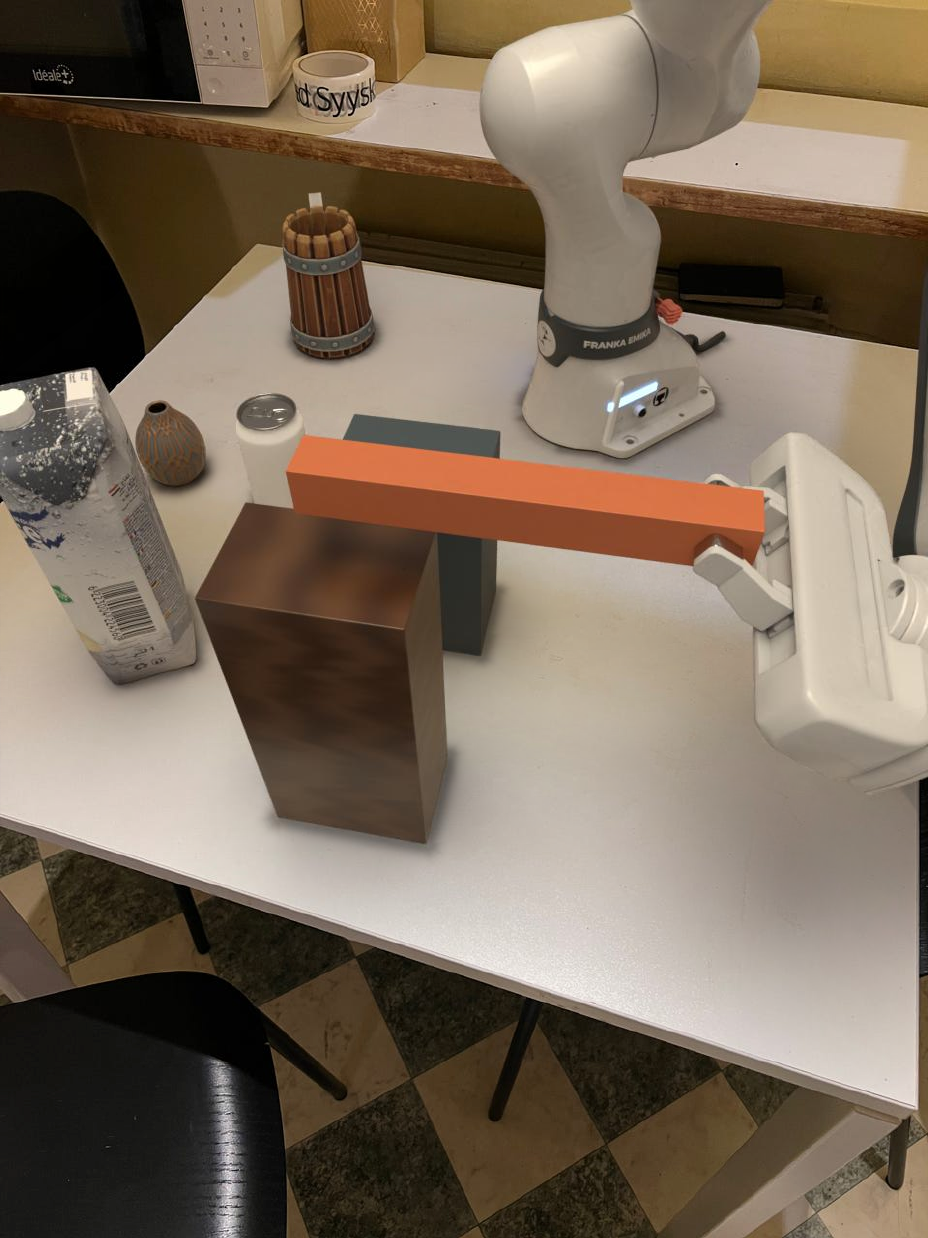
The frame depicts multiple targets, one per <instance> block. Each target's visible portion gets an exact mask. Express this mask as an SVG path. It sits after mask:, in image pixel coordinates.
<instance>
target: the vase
mask: <svg viewBox="0 0 928 1238" xmlns="http://www.w3.org/2000/svg"><path fill="white" fill-rule="evenodd" d="M134 444H135V445H134V446H135V452H136V455H137V457H138V460H139V463H140V465H141V467H142V469H144V470H145V472H146V473H147V474H148V475H149V476H150V477H151V478H153V479H154V480H155V481H157V482H158V483H161V484H164V485H168V486H174V487H175V486H176V487H177V486H183V485H186V484H189V483H190V482H192V481H194V480H195V479H196V478H197V477H198V476H199V475H200V474H201V472H202V470H203V468H204V466H205V463H206V459H207V458H206V457H207V456H206V455H207V450H206V443H205V440H204V437H203V435H202V432H201V430H200V429H199V427H198V426H197V425H196V423H195V421H193V420H192V419H191V418H190V417H189V416H188V415H186V414H185V413H183V412H181V411H179V410H178V409H177V408H174V407H172V405H171V404H170V403H169V402H167V401H165V400H161V399H160V400H154V401H151V402H148V404H147V405H146V406H145V408H144V414H143V417H142V418H141V420H140V422H139V424H138V426H137V428H136V431H135V437H134Z"/></svg>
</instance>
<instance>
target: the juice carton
mask: <svg viewBox="0 0 928 1238" xmlns="http://www.w3.org/2000/svg"><path fill="white" fill-rule="evenodd" d="M0 497H1V499H2V501H3V503H4V505H5V506H6V509H7V510H8V512H9V514H10V516H11V518H12V519H13V521H14V523H15V525H16V526H17V528H18V530H19V532H20V534H21V535H22V537H23V539H24V541H25V542H26V544H27V546H28V548H29V549H30V551H31V553H32V555H33V557H34V558H35V560H36V562H37V564H38V565H39V567H40V569H41V571H42V573H43V574H44V576H45V578H46V580H47V581H48V583H49V585H50V586H51V588H52V591H53V592H54V594H55V596H56V597H57V599H58V601H59V602H60V604H61V606H62V609H64V612H65V613H66V615H67V617H68V619H69V620H70V622H71V624H72V625H73V627H74V629H75V631H76V633H77V634H78V636H79V639H80V640H81V641H82V643H83V644H84V646H85V648H86V650H87V652H88V653H89V654H90V656H91V657H92V659H93V660H94V661H95V663H96V664H97V665H98V666H99V668H100V669H101V670H102V672H103V673H104V674H105V675H106V676H107V677H108V679H109V680H110V681H111V682H112V683H113V684H115V685H124V684H128V683H132V682H135V681H138V680H141V679H144V678H148V677H151V676H154V675H158V674H161V673H165V672H169V671H173V670H177V669H181V668H184V667H188V666H191V665H193V664H195V663H196V661H197V645H196V633H195V625H194V620H193V617H192V613H191V609H190V606H189V603H188V599H187V590H186V583H185V579H184V576H183V573H182V570H181V568H180V567H181V566H180V564H179V562H178V559H177V557H176V553H175V551H174V547H173V546H172V543H171V541H170V539H169V536H168V533H167V530H166V527H165V524H164V522H163V520H162V517H161V515H160V512H159V509H158V507H157V504H156V502H155V499H154V497H153V494H152V492H151V488H150V486H149V484H148V481H147V479H146V476H145V473H144V471H143V467H142V464H141V462H140V460H139V458H138V455H137V452H136V449H135V447H134V444H133V443H132V440H131V437H130V434H129V432H128V430H127V427H126V425H125V423H124V419H123V418H122V416H121V414H120V412H119V409H118V408H117V406H116V404H115V402H114V400H113V398H112V397H111V394H110V392H109V390H108V388H107V387H106V385H105V383H104V381H103V379H102V377H101V375H100V373H99V371H98V370H97V369H96V367H92V366H91V367H84V368H79V369H74V370H68V371H65V372H60V373H59V372H58V373H53V374H49V375H45V376H40V377H35V378H29V379H25V380H20V381H14V382H10V383H6V384H1V385H0Z"/></svg>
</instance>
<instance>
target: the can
mask: <svg viewBox="0 0 928 1238" xmlns="http://www.w3.org/2000/svg"><path fill="white" fill-rule="evenodd" d="M236 419H237V420H236V422H235V433H236V437H237V441H238V445H239V449H240V453H241V457H242V460H243V461H242V462H243V464H244V468H245V472H246V475H247V480H248V484H249V487H250V491H251V494H252V495H251V496H252V499H253V502H254V503H255V504H262V505H270V506H277V507H285V508H292V509H294V507H293V503H292V498H291V494H290V489H289V485H288V480H287V476H286V469H287V467H288V465H289V463H290V461H291V459H292V457H293V455H294V453H295V451H296V449H297V447H298V445H299V443H300V441H301V439H302V437H303V435H307V432H306V427H305V422H304V419H303V416H302V414H301V412H300V411H299V409H297V404H296V402H295V401H294V400H293V399H292V398H291V397H289V396H287V395H285V394H282V393H276V392H266V393H260V394H256V395H253V396H251V397H248V398H247V399H245V400H244V401H243V402H241V403H240V404H239V406H238V408H237V410H236Z"/></svg>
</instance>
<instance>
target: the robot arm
mask: <svg viewBox="0 0 928 1238" xmlns="http://www.w3.org/2000/svg"><path fill="white" fill-rule="evenodd" d="M773 2H774V0H629V3H630V6H631V9H630V10H628V11H625V12H624V13H620V14H616V15H611V16H606V17H601V18H595V19H589V20H584V21H577V22H572V23H565V24H559V25H554V26H549V27H545V28H543V29H541V30H538V31H536V32H533V33H532V34H529V35H527V36H524V37H522V38H520V39H517V40H516V41H514V42H512V43H510V44H508V45H506V46H503V47H502V48H499V49H498V50H497V51H496V52H495V54H493V57H492V59H491V60H490V62H489V64H488V66H487V68H486V71H485V73H484V76H483V80H482V83H481V87H480V92H479V93H480V94H479V102H478V103H479V105H478V106H479V109H478V110H479V121H480V126H481V130H482V134H483V137H484V139H485V142H486V144H487V147H488V149H489V150H490V152H491V154H492V156H493V157H494V159H495V160H496V161H497V163H499V165H501V166H502V168H503V169H504V170H506V171H507V172H508V173H509V174H511V175H513V176H514V177H515V178H517V179H518V180H520V181H521V182H522V183H523V184H524V185H526V187H527V188H528V189H529V191H530V192H531V193H532V195H533V197H534V198H535V201H536V202H537V204H538V207H539V209H540V212H541V215H542V219H543V225H544V236H545V239H544V240H545V255H544V256H545V263H544V265H545V266H544V267H545V268H544V286H543V287H544V288H542V290H541V292H540V295H539V302H538V311H537V325H536V326H537V327H536V342H537V353H536V359H535V363H534V369H533V372H532V376H531V379H530V383H529V385H528V389H527V391H526V394H525V395H524V397H523V401H522V406H521V412H522V416H523V419H524V421H525V422H526V424H527V426H528V427H529V428H530V429H531V430H532V431H533V432H534V433H536V434H537V435H538V436H540V437H542V439H545V440H547V441H548V442H551V443H553V444H556V445H559V446H562V447H564V448H565V447H566V448H569V449H575V450H584V451H594V452H595V451H596V452H599V453H601V454H605V455H607V456H610V457H614V458H618V459H628V458H630V457H633V456H634V455H636V454H638V453H640V452H642V451H643V450H645V449H647V448H650V447H651V446H653V445H654V444H656V443H659V442H660V441H662V440H664V439H666V438H667V437H669V436H671V435H673V434H675V433H677V432H679V431H680V430H682V429H684V428H687V427H688V426H690V425H692V424H693V423H695V422H697V421H699V420H702V419H703V418H705V417H707V416H708V415H711V414H712V413H713V412H714V411H715V408H716V399H715V395H714V392H713V389H712V388H711V386H710V385H709V384H708V382H707V381H706V380H705V379H704V377H703V376H702V375H700V362H699V359H698V356H697V354H696V353H703V352H706V351H707V350H709V349H711V348H712V347H714V346H715V345H716V344H717V343H719V342H721V341H722V340H723V339H725V338H726V337H727V333H726V332H725V331H724V330H721V331H720V332H718V333H716V334H715V335H714V336H711V338H709V339H708V340H706V341H705V342H703V343H701V344H699V343H700V341H699V337H698V336H697V335H695V334H692V333H689V334H684V333H682V332H680V331H679V330H676V329H675V328H673V327H671V326H669V325H674V324H677V323H678V322H679V320H680V319H681V318H682V315H683V308H682V307H681V306H680V305H679V304H676V303H674V301H673V300H672V299H671V298H666V299H664V300H663V299H662V298H660V297H661V294H660V293H659V292H658V291H657V290H655V289H654V286H655V285H654V284H655V279H656V272H657V266H658V262H659V261H658V260H659V255H660V250H661V244H662V233H661V229H660V225H659V222H658V220H657V217H656V216H655V213H654V212H653V211H652V210H651V208H650V207H649V206H648V205H647V204H646V203H645V202H643V201H642V200H640V199H639V198H637V197H636V196H634V195H632V194H630V193H628V192H625V191H623V180H624V179H623V177H624V173H625V169H626V167H627V165H628V164H629V163H632V162H635V161H639V160H645V159H649V158H653V157H658V156H663V155H666V154H667V155H668V154H671V153H677V152H679V151H684V150H689V149H692V148H694V147H697V146H698V145H700V144H702V143H705V142H707V141H709V140H711V139H713V138H716V137H718V136H719V135H722V134H723V133H725V132H727V131H730V130H731V129H733V128H734V127H736V126H738V125H739V124H740V122H741V121H742V120H743V119H744V118H745V116H746V115H747V114H748V112H749V110H750V108H751V106H752V105H753V102H754V100H755V97H756V94H757V90H758V88H759V87H758V86H759V82H760V75H761V52H760V46H759V42H758V39H757V35H756V34H755V31H754V29H755V27H756V25H757V24H758V23H759V21H760V19H761V18H762V16H763V15H764V14H765V13H766V11H767V10H768V9H769V7H770V6H771V4H772V3H773ZM921 300H922V301H921V309H920V310H921V311H920V323H919V337H918V353H917V369H916V383H915V384H916V387H915V403H914V418H913V436H912V448H911V459H910V466H909V472H908V477H907V481H906V485H905V489H904V492H903V495H902V496H903V497H902V499H901V501H900V506H899V508H898V513H897V516H896V520H895V524H894V529H893V535H892V545H891V539H890V533H889V526H888V520H887V514H886V509H885V506H884V504H883V501H882V499H881V497H880V496H879V494H878V493H877V492H876V490H875V489H874V488H873V487H872V486H871V484H869V482H868V481H866V479H865V478H863V476H861V475H860V474H859V473H858V472H856V471H855V470H854V469H853V468H852V467H851V466H849V465H848V464H847V463H846V462H844V461H843V459H841V458H839V457H838V456H837V455H836V454H835V453H833V452H831V450H829V449H828V448H826V447H825V446H824V445H823V444H821V443H820V442H819V441H818V440H816V439H815V438H813V437H811V436H810V435H809V434H806V433H804V432H797V431H796V432H795V431H793V432H786V433H785V434H784V435H782V436H781V437H780V438H778V439H777V440H775V442H773V443H772V444H771V445H770V446H769V447H767V448H766V449H764V451H763V452H761V453H760V454H759V455H758V456H757V457H756V458H755V459H754V460H753V461H752V462H751V464H750V466H749V486H748V485H740V484H738V483H736V482H735V481H733V480H731V479H730V478H728V477H727V476H725V475H723V474H721V473H713V474H711V475H709V476H708V477H707V478H706V479H705V480H704V481H702V482H701V483H705V484H713V485H721V486H730V487H738V488H746V489H754V490H763V491H764V513H765V534H764V537H763V539H762V542H761V545H760V548H759V550H758V553H757V556H756V559H755V561H754V564H753V567H752V566H751V565H750V564H749V563H748V562H747V561H746V560H745V559H743V547H742V546H740V545H738V544H737V543H735V542H733V541H732V540H728V539H727V537H725V536H723V535H722V534H718V533H714V534H710V535H709V536H707V537H706V538H705V539H704V540H703V541H702V542H700V543H698V544H697V545H696V546H695V548H694V566H692V567H693V569H692V571H693V572H694V574H695V575H697V576H698V577H700V578H702V579H703V580H705V581H707V582H709V583H711V584H712V585H714V586H716V587H717V591H719V592H720V594H721V595H722V596H723V598H724V599H725V600H726V601H727V603H728V604H729V605H730V607H731V608H732V609H733V611H734V612H735V613H736V615H737V616H738V618H739V619H740V620H741V621H743V622H744V623H746V624H748V625H750V626H751V627H752V653H753V655H752V656H753V657H752V658H753V659H752V660H753V661H752V663H753V664H752V665H753V699H754V700H753V703H754V704H753V705H754V706H753V719H754V724H755V726H756V728H757V730H758V731H759V733H760V735H761V736H762V737H763V738H764V740H765V741H766V743H767V744H768V746H769V747H770V748H771V749H772V750H774V751H775V752H777V753H778V754H779V755H781V756H783V757H785V758H787V759H789V760H790V761H792V762H794V763H796V764H797V765H800V766H802V767H804V768H806V769H807V770H810V771H812V772H815V773H817V774H819V775H822V776H824V777H827V778H830V779H832V780H838V781H847V782H848V783H849V784H850V785H851V786H853V788H855V789H857V790H858V791H860V792H862V793H864V794H866V795H872V796H873V795H876V794H880V793H883V792H884V793H885V792H887V791H891V790H894V789H898V788H901V787H905V786H908V785H910V784H912V783H916V782H918V781H920V780H924V779H926V778H928V260H927V262H926V265H925V273H924V280H923V288H922V299H921ZM660 318H662V319H663V320H664V321H665V322H663V321H661V320H660Z"/></svg>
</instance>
